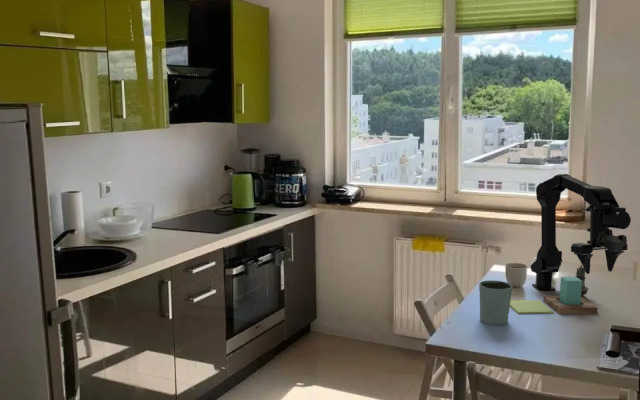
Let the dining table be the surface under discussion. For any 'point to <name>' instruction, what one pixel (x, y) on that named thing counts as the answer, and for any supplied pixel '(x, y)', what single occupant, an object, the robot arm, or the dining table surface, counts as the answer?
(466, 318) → the dining table surface
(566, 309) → the frame
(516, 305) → the olive mat
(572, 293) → the teal peg
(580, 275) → the dark grey upright piece
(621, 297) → the dining table surface
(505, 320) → the green cup
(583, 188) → the robot arm
